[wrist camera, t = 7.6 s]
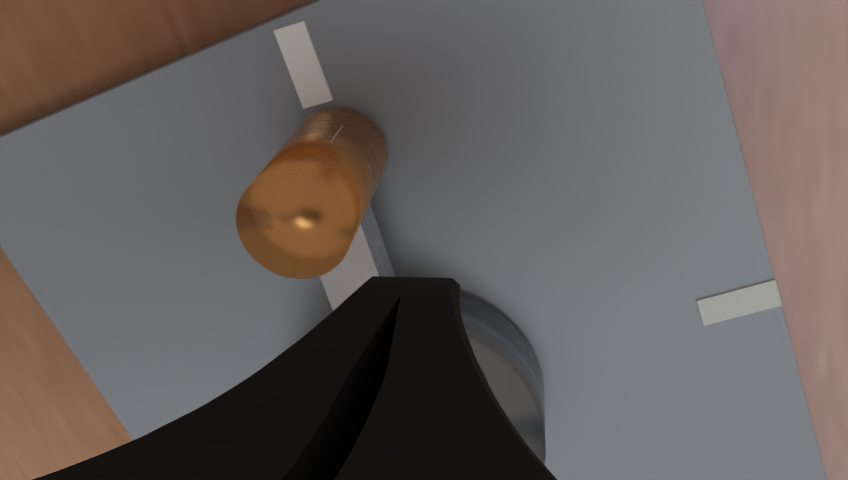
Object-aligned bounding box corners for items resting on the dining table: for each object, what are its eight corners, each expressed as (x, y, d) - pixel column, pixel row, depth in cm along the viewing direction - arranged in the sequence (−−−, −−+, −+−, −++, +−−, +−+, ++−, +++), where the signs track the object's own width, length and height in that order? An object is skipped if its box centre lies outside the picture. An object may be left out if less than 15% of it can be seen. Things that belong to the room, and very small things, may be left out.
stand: (301, 645, 31) (292, 676, 30) (-30, 147, 23) (-61, 163, 22) (839, 552, 25) (854, 585, 24) (655, -147, 17) (664, -147, 16)
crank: (566, 466, 23) (574, 590, 19) (348, 495, 25) (314, 615, 21) (462, 73, 18) (443, 132, 15) (199, 140, 20) (118, 210, 16)
